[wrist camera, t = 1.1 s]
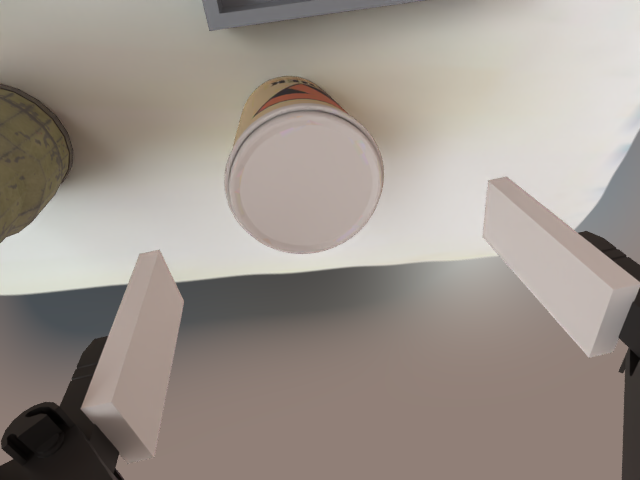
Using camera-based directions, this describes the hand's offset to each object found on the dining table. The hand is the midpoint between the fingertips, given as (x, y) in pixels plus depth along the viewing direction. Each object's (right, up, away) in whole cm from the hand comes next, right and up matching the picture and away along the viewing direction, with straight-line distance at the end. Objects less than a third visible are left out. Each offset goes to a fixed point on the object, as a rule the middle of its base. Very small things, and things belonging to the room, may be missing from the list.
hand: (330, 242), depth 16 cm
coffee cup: (-3, +10, +17) cm, 20 cm away
